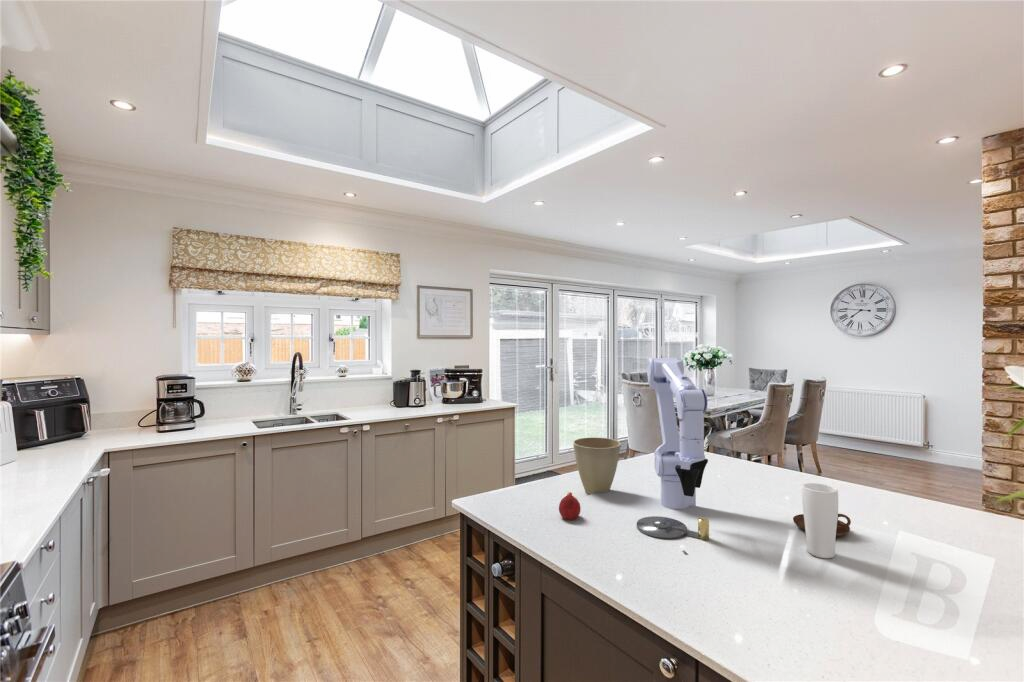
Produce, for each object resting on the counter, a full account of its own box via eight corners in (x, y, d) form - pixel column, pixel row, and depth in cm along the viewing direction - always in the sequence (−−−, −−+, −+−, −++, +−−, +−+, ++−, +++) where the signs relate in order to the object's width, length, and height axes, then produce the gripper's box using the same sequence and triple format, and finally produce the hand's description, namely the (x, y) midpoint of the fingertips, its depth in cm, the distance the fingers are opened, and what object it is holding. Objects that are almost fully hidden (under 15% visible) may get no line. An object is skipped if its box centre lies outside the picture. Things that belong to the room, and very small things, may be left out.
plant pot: (565, 494, 147) (564, 444, 147) (586, 482, 159) (585, 435, 159) (610, 503, 138) (609, 450, 138) (628, 489, 150) (627, 440, 150)
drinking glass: (833, 549, 107) (832, 484, 107) (843, 563, 100) (842, 493, 100) (799, 545, 109) (798, 481, 109) (807, 558, 103) (806, 490, 102)
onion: (580, 527, 121) (579, 496, 121) (557, 525, 122) (557, 495, 122) (581, 518, 127) (580, 489, 127) (560, 517, 128) (559, 488, 128)
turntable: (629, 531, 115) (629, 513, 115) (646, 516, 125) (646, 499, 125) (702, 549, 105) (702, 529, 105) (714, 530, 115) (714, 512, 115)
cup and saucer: (844, 525, 121) (843, 501, 121) (855, 544, 110) (855, 518, 110) (790, 518, 126) (790, 495, 126) (796, 535, 115) (796, 510, 115)
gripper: (682, 430, 125) (682, 481, 125) (667, 441, 113) (668, 496, 113) (710, 433, 121) (710, 485, 121) (698, 444, 109) (698, 502, 109)
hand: (692, 491), depth 117 cm, fingers open, 7 cm apart
